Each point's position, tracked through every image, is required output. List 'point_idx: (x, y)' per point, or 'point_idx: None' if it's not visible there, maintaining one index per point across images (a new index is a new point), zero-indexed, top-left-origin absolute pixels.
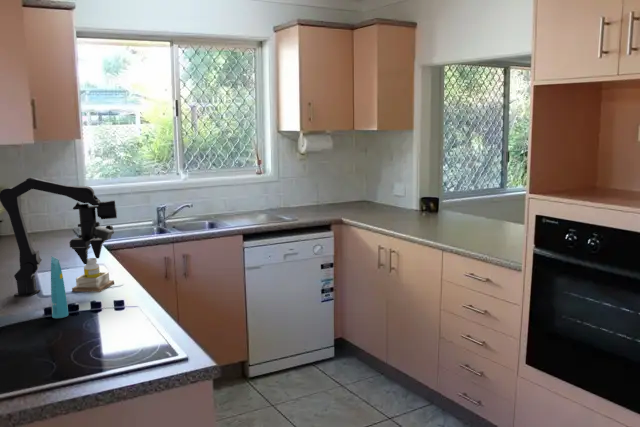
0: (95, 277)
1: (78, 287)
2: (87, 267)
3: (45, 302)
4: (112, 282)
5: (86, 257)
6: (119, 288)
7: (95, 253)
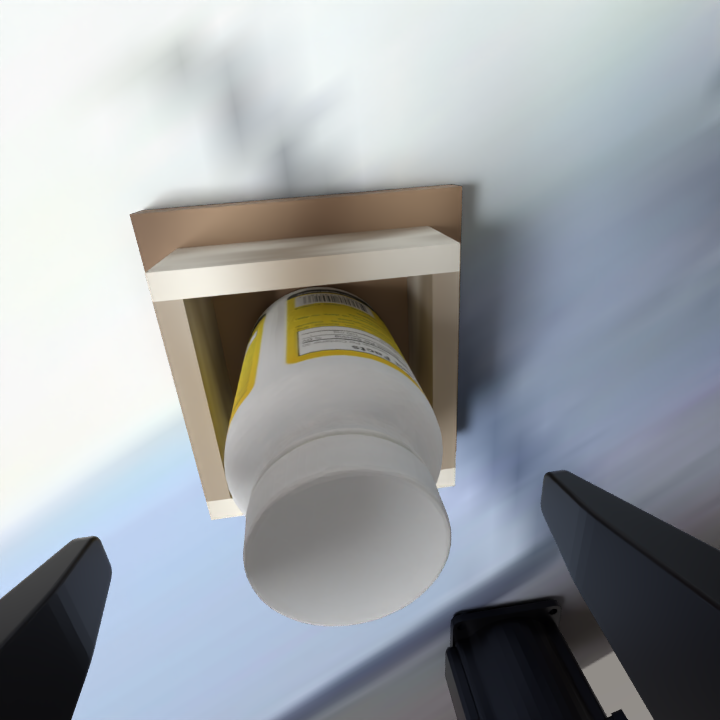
0: (374, 323)
1: None
2: (439, 464)
3: (701, 441)
4: (172, 209)
5: (701, 545)
6: (314, 13)
7: (69, 677)
